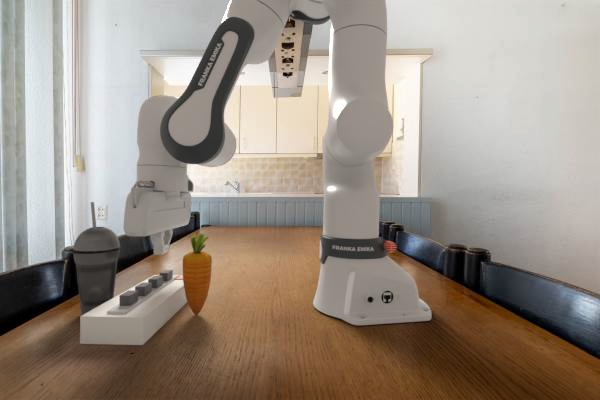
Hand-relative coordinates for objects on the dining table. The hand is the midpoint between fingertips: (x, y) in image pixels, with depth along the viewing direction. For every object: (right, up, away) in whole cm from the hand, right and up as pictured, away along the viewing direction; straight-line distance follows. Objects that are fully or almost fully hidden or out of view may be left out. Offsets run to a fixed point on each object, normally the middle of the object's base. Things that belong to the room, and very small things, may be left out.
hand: (161, 253), depth 58 cm
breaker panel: (0, -10, -4) cm, 11 cm away
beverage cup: (-10, -10, -4) cm, 15 cm away
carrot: (+8, -11, -4) cm, 14 cm away
